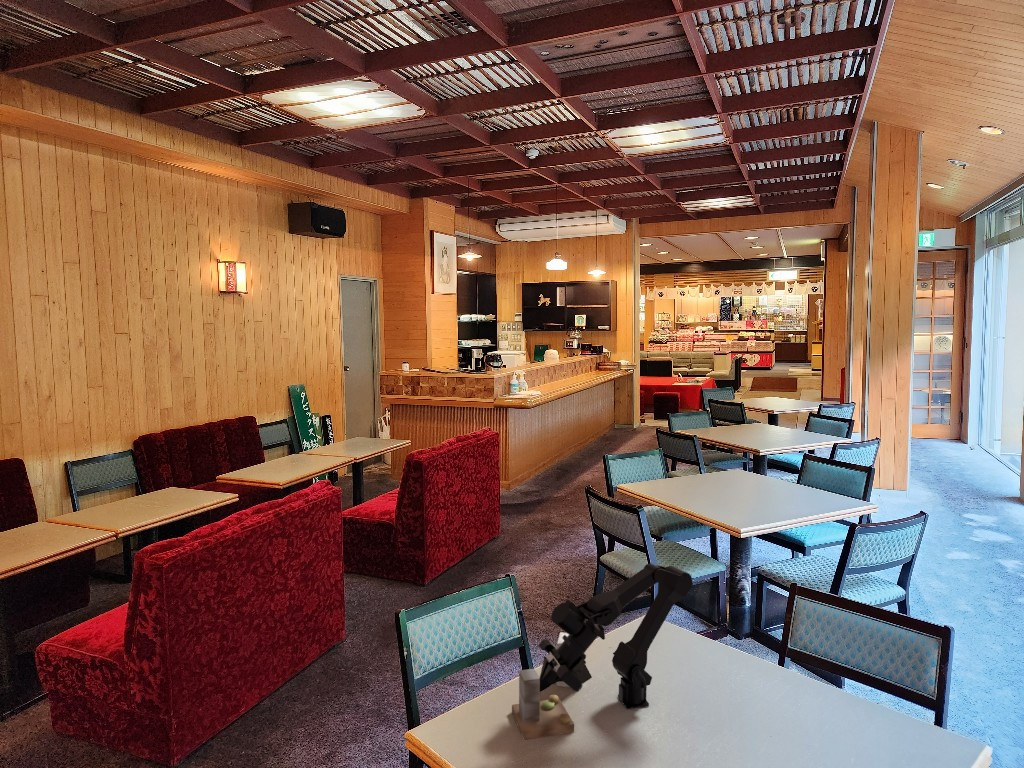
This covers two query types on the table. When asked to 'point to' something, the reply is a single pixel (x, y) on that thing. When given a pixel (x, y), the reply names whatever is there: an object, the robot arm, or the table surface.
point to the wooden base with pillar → (539, 710)
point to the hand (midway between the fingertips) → (538, 690)
